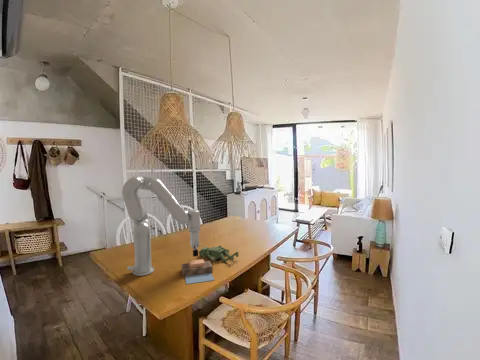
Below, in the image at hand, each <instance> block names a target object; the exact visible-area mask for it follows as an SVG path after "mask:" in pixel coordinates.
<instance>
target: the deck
mask: <svg viewBox="0 0 480 360" xmlns="http://www.w3.org/2000/svg"><path fill="white" fill-rule="evenodd" d="M204 262H205V266H200V267H192V268H190V266H189V262H185V263H181V272H182V278H185V276H190V275H198V274H205V273H212V274H213V272H214V269H213V265H212V263H211V262H212V261H211V260H204Z"/></svg>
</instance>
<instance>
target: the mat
mask: <svg viewBox="0 0 480 360" xmlns="http://www.w3.org/2000/svg"><path fill="white" fill-rule="evenodd" d="M184 279H185V284H186V285H190V284H197V283H198V284H199V283H206V282H211V281H213V282H214V281H215V278H214V276H213V273H205V274H198V275H190V276H185V277H184Z"/></svg>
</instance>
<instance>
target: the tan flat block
mask: <svg viewBox="0 0 480 360" xmlns="http://www.w3.org/2000/svg"><path fill="white" fill-rule="evenodd" d="M204 261H205V260H204V259H203V258H201V259H194V260H189V261H188V263H189V266H190V268H192V267H200V266H205V262H204Z"/></svg>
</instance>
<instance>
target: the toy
mask: <svg viewBox="0 0 480 360" xmlns="http://www.w3.org/2000/svg"><path fill="white" fill-rule="evenodd" d="M229 253H230V249H226V248H224V247H223V246H222V245H218V246H213V247H210V248H209V247H207V246H205V247H202V248H201V249H200V250H198V255H199V256H200V257H201V258H206V257H207V259H210V262H212V263H213V262H215V261H217V260H219V259H221V261H222V262H224V263H226V262H227V261H229V260H231V261H234V260H235V257H236V258H237V257H240V255H239V251H236V252H235V253H232V254H231V255H230V254H229ZM226 257H227V258H226Z"/></svg>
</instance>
